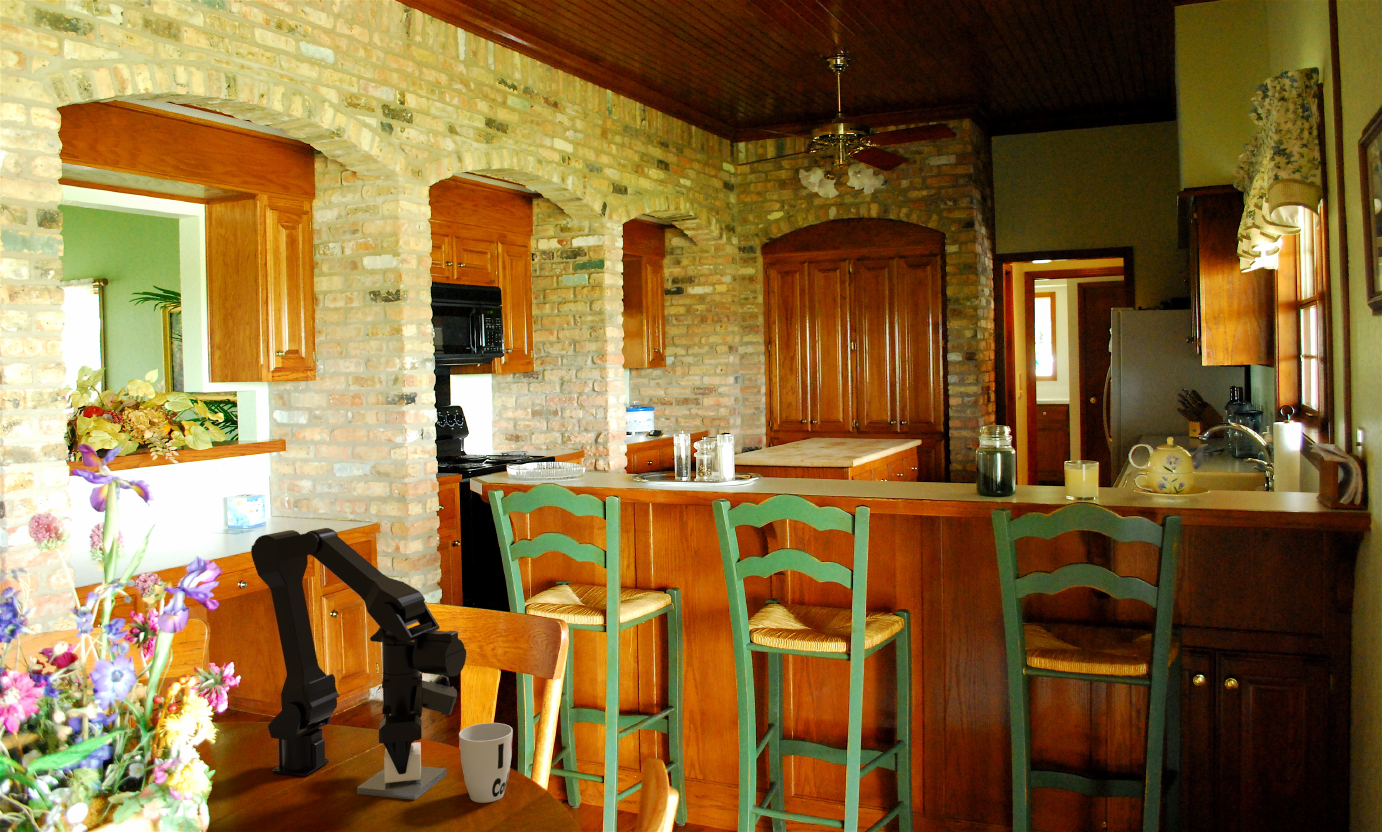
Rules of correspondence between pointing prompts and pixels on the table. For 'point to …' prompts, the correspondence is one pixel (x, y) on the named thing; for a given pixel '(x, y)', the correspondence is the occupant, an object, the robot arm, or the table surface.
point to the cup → (486, 760)
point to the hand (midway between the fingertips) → (402, 767)
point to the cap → (412, 766)
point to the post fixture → (402, 784)
